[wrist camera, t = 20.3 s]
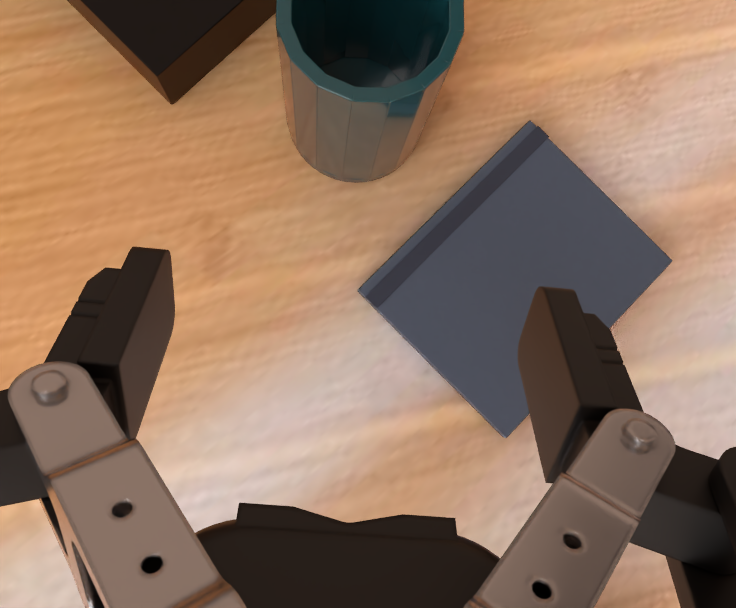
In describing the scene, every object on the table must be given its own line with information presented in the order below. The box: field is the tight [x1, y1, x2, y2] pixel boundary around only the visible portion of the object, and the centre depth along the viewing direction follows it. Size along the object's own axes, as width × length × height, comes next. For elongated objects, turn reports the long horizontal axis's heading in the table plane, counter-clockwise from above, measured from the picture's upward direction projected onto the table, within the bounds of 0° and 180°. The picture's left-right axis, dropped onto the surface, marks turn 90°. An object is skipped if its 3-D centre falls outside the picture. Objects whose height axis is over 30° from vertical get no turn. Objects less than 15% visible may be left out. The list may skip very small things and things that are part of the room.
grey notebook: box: [358, 121, 672, 438], centre depth 31 cm, size 9×11×1 cm
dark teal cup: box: [276, 0, 464, 182], centre depth 27 cm, size 6×6×9 cm
